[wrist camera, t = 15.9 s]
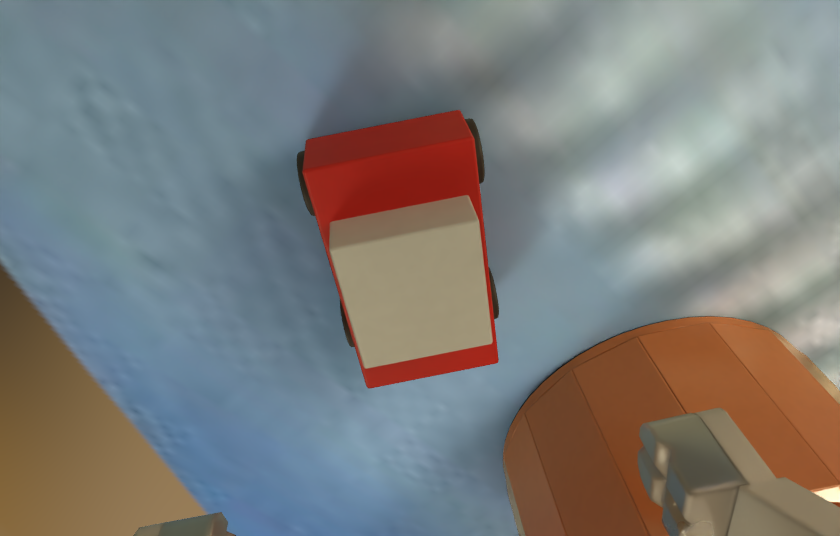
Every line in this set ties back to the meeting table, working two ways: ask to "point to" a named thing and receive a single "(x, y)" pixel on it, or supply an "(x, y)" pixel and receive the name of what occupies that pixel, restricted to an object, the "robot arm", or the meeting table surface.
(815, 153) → the meeting table surface
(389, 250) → the car
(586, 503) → the pot
